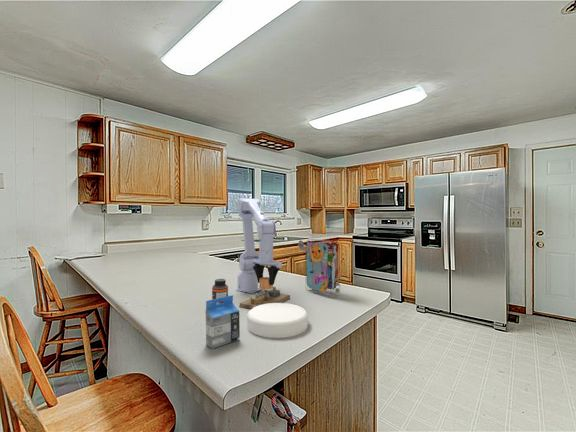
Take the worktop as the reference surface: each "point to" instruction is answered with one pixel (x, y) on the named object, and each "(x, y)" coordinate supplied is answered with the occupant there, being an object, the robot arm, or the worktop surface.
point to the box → (321, 265)
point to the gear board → (265, 298)
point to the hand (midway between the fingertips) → (266, 283)
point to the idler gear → (264, 283)
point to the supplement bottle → (219, 290)
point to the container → (277, 320)
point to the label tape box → (221, 322)
